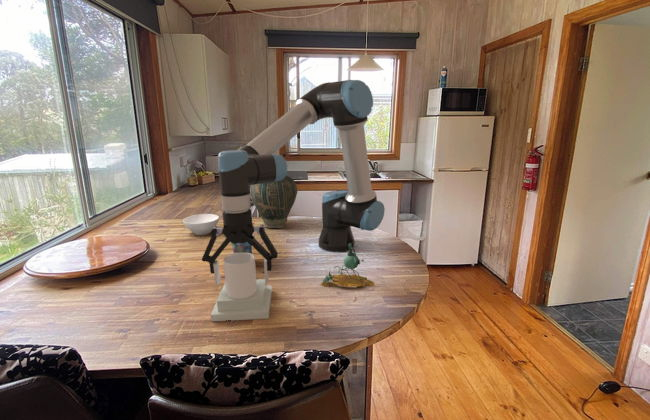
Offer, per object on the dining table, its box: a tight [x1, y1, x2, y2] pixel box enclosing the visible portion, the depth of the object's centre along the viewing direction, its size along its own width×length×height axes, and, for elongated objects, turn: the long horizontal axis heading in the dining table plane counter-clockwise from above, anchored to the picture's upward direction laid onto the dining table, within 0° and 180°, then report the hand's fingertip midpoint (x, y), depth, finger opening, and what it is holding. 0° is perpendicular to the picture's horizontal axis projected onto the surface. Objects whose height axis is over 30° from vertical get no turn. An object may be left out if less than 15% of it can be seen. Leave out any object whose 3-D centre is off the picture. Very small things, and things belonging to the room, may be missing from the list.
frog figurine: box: [319, 243, 376, 289], centre depth 109 cm, size 10×18×15 cm, turn 84°
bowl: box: [182, 213, 220, 236], centre depth 160 cm, size 16×16×7 cm
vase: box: [250, 175, 298, 229], centre depth 166 cm, size 22×22×30 cm
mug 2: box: [222, 253, 257, 299], centre depth 95 cm, size 12×8×10 cm
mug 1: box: [230, 233, 255, 254], centre depth 127 cm, size 12×9×11 cm
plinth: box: [210, 278, 273, 322], centre depth 97 cm, size 15×15×5 cm
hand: (242, 282), depth 96 cm, fingers open, 13 cm apart
